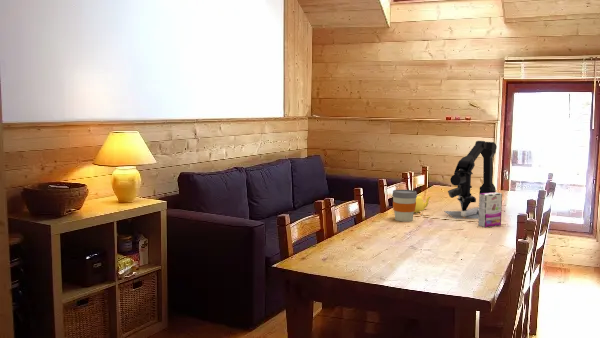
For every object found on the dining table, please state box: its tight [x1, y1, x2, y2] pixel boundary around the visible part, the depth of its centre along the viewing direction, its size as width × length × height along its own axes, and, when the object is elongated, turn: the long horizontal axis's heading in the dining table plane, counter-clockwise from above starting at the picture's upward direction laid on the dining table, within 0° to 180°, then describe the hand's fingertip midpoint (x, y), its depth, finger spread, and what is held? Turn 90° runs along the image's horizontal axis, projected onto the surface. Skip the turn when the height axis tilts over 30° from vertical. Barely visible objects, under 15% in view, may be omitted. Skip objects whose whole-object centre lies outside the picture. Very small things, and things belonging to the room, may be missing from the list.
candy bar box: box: [477, 191, 503, 228], centre depth 288 cm, size 11×5×16 cm, turn 117°
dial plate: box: [443, 210, 479, 220], centre depth 309 cm, size 20×20×2 cm
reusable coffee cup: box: [391, 189, 418, 223], centre depth 300 cm, size 12×13×15 cm
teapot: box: [414, 195, 432, 214], centre depth 323 cm, size 14×13×10 cm
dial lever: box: [460, 206, 479, 217], centre depth 308 cm, size 18×5×3 cm, turn 134°
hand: (463, 212), depth 307 cm, fingers closed
